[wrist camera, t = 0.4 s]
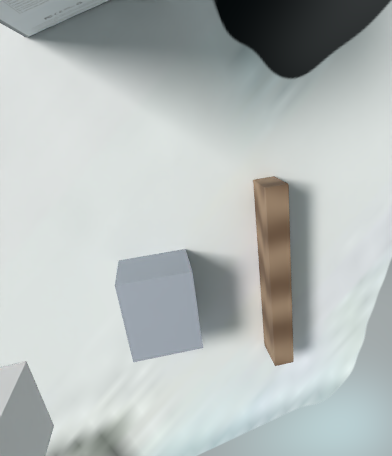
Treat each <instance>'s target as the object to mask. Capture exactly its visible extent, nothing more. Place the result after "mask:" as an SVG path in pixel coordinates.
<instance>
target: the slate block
mask: <svg viewBox="0 0 392 456" xmlns="http://www.w3.org/2000/svg"><path fill="white" fill-rule="evenodd" d="M115 288H116V292H117V296H118V300H119V305H120V309H121V313H122V317H123V321H124V325H125V329H126V334H127V338H128V342H129V346H130V350H131V354H132V358H133V362H137V361H141V360H146V359H151V358H156V357H161V356H166V355H171V354H176V353H180V352H185V351H190V350H195V349H200V348H203V344H202V337H201V330H200V323H199V315H198V308H197V301H196V294H195V287H194V280H193V272H192V269H191V265H190V262H189V259H188V255H187V252H186V249H183V250H177V251H172V252H166V253H160V254H154V255H148V256H143V257H137V258H131V259H125V260H120V261H119V262H118V269H117V275H116V282H115Z"/></svg>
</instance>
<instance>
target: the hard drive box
mask: <svg viewBox="0 0 392 456" xmlns="http://www.w3.org/2000/svg"><path fill="white" fill-rule="evenodd" d="M106 1H109V0H0V23H1V24H3V25H5V26H7V27H9V28H10V29H12V30H14V31H16V32H17V33H19V34H21V35H23V36H24V37H29V36H31V35H34V34H36V33H38V32H40V31H42V30H44V29H46V28H48V27H51V26H54V25H56V24H58V23H60V22H62V21H65V20H67V19H69V18H71V17H73V16H75V15H77V14H80V13H82V12H84V11H86V10H89V9H91V8H93V7H96V6H98V5H100V4H102V3H104V2H106Z"/></svg>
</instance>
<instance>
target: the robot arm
mask: <svg viewBox="0 0 392 456" xmlns="http://www.w3.org/2000/svg"><path fill="white" fill-rule="evenodd" d="M53 427H54V425H53V422H52V420H51V418H50V415H49V413H48V411H47V408H46V406H45V404H44V401H43V399H42V397H41V394H40V392H39V390H38V387H37V385H36V383H35V380H34V378H33V376H32V373H31V371H30V369H29V366H28V364H27V362H26V361H25V362H21V363H16V364H12V365H7V366H3V367H0V456H45V455H46V452H47V448H48V445H49V441H50V438H51V434H52V430H53Z"/></svg>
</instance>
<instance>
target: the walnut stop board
mask: <svg viewBox="0 0 392 456" xmlns="http://www.w3.org/2000/svg"><path fill="white" fill-rule="evenodd" d="M253 182H254V197H255V212H256V226H257V241H258V256H259V270H260V285H261V300H262V314H263V329H264V343H265V347H266V349H267V351H268V353H269V355H270V357H271V359H272V361H273V363H274V365H275V366H277V365H282V364H286V363H291V362H293V327H292V292H291V257H290V222H289V187H288V184H287V183H286V182H284V181H282V180H280V179H278V178H276V177H268V178H262V179H256V180H253Z"/></svg>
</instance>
